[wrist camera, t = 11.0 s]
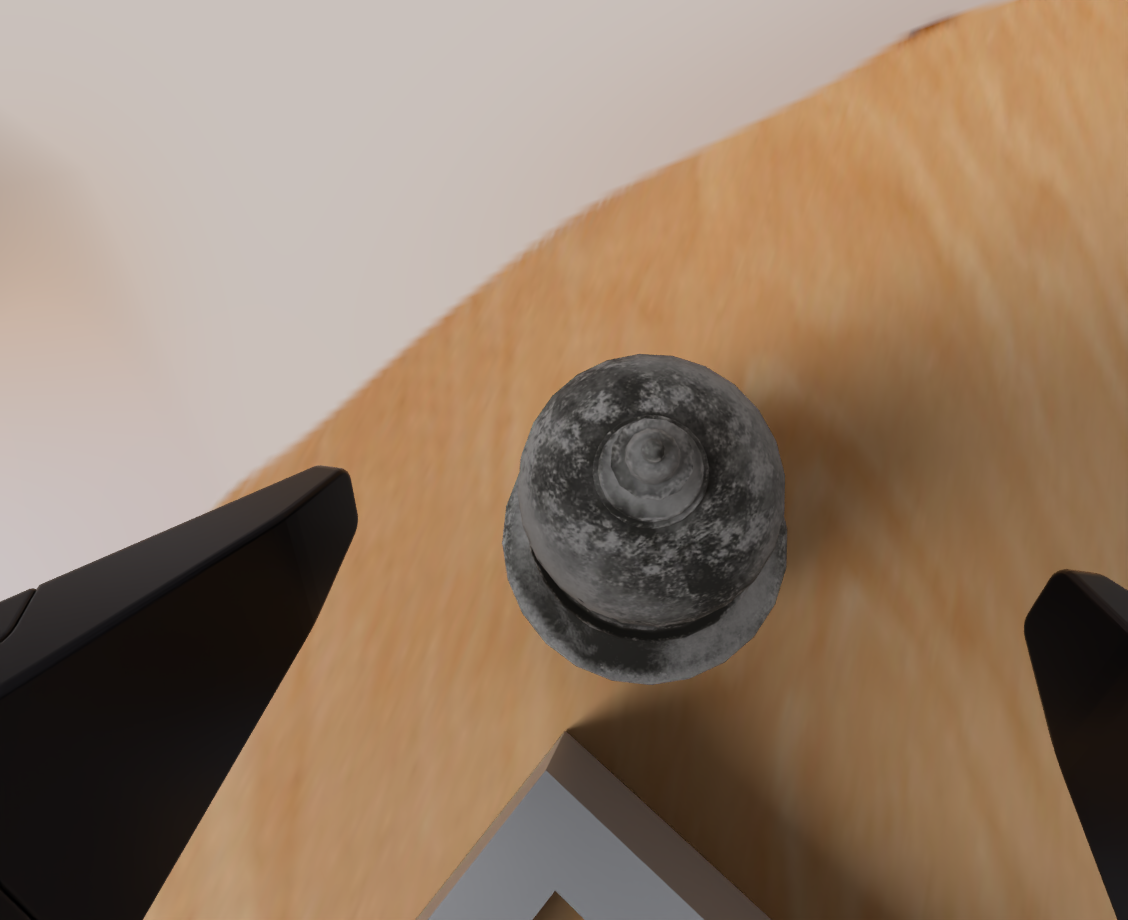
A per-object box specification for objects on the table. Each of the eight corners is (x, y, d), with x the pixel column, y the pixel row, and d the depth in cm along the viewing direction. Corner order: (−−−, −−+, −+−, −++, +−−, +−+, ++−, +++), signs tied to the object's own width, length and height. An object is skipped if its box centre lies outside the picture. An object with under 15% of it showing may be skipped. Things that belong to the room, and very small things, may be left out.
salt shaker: (708, 409, 17) (872, 18, 5) (790, 624, 16) (1244, 731, 4) (503, 476, 17) (228, 245, 6) (566, 693, 16) (381, 982, 4)
